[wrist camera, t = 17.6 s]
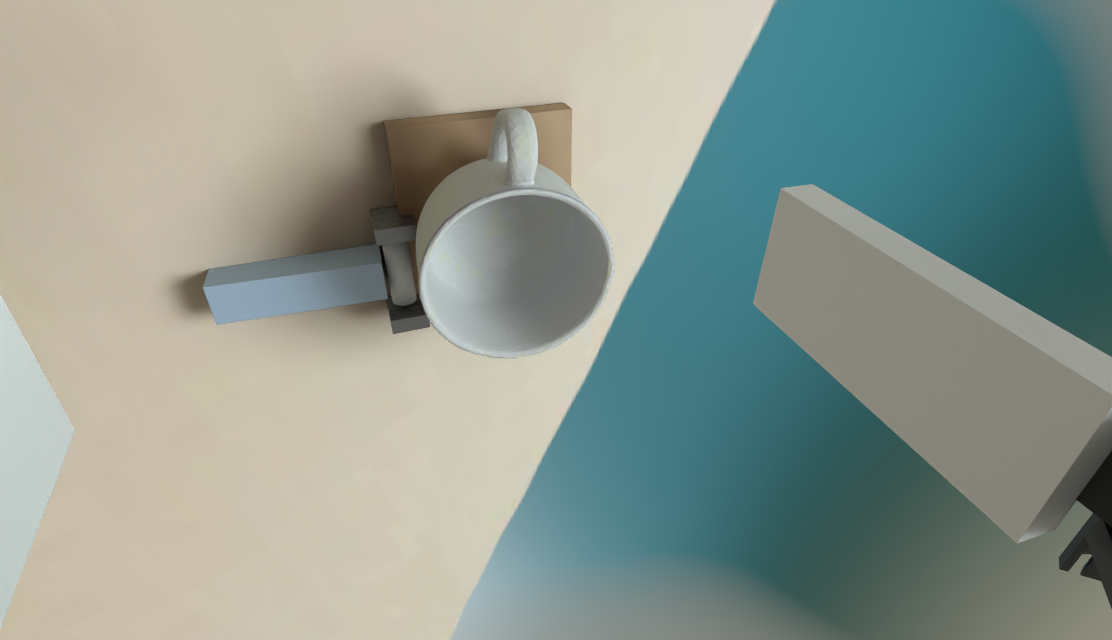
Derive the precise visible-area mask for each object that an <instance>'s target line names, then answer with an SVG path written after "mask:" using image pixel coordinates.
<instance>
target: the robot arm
mask: <svg viewBox="0 0 1112 640" xmlns="http://www.w3.org/2000/svg"><path fill="white" fill-rule="evenodd" d="M753 304H754V305H755V306H756V307H757V308H758V309H759V310H760V311H761V312H763V313H764V314H765V315H766V316H767V317H768V318H769V319H770V320H772V321H773V322H774V323H775V324H776V325H777V326H778V327H779V328H780V329H781V330H783V331H784V332H785V333H786V334H787V335H788V336H789V337H790V338H791V339H792V340H794V341H795V342H796V343H797V344H798V345H799V346H800V347H801V348H802V349H803V350H804V351H806V352H807V353H808V354H809V355H810V356H811V357H812V358H814V359H815V360H816V361H817V362H818V363H819V364H820V365H821V366H822V367H823V368H825V370H827V371H828V372H829V373H830V374H831V375H832V376H833V377H834V378H835V379H837V380H838V381H839V382H840V383H841V384H842V385H843V386H844V387H845V388H847V389H848V390H849V391H850V392H851V393H852V394H853V395H854V396H855V397H856V398H858V399H859V400H860V401H861V402H862V403H863V404H864V405H865V406H866V407H867V408H869V409H870V410H871V411H872V412H873V413H874V414H875V415H876V416H877V417H878V418H880V419H881V420H882V421H883V422H884V423H885V424H886V425H887V426H888V427H890V428H891V429H892V430H893V431H894V432H895V433H896V434H897V435H898V436H900V437H901V438H902V439H903V440H904V441H905V442H906V443H907V444H908V445H909V446H911V447H912V448H913V449H914V450H915V451H916V452H917V453H918V454H919V455H920V456H921V457H923V458H924V459H925V460H926V461H927V462H928V463H929V464H930V465H932V466H933V467H934V468H935V469H936V470H937V471H938V472H939V473H940V474H941V475H942V476H944V477H945V478H946V479H947V480H948V481H949V482H950V483H951V484H953V485H954V486H955V487H956V488H957V489H958V490H959V491H960V492H961V493H963V494H964V495H965V496H966V497H967V498H968V499H969V500H970V501H972V503H973V504H975V505H976V506H977V507H978V508H979V509H980V510H981V511H982V512H983V513H984V514H986V515H987V516H988V517H989V518H990V519H991V520H992V521H993V522H994V523H996V524H997V525H998V526H999V527H1000V528H1001V529H1002V530H1003V531H1004V532H1005V533H1007V534H1008V535H1009V536H1010V537H1011V538H1012V539H1013V540H1014V541H1016V543H1019V542H1022V541H1025V540H1028V539H1030V538H1033V537H1036V536H1038V535H1041V534H1044V533H1047V532H1049V531H1052V530H1055V529H1056V528H1057V526H1058V525H1059V524H1060V522H1061V521H1062V520H1063V518H1064V517H1065V515H1066V514H1067V513H1068V511H1069V510H1070V509H1071V507H1072V506H1073V505H1074V503H1075V502H1076V501H1077V500H1078V501H1079V502H1080V503H1082V504H1083V505H1084V506H1085V507H1086V508H1088V509H1089V510H1090V511H1092V512H1093V514H1092V515H1091V517H1090V518H1089V519H1088V520H1087V522H1086V523H1085V524H1084V525H1083V527H1082V528H1081V529H1080V531H1079V532H1078V533H1077V535H1076V536H1075V537H1074V538H1073V540H1072V541H1071V542H1070V544H1069V545H1068V546H1067V548H1066V549H1065V550H1064V552H1063V553H1062V554H1061V555H1060V557H1059V569H1061V570H1065V571H1069V569H1071V567H1072V566H1073V565H1074V563H1075V562H1076V561H1077V560H1078V559H1079V557H1080V556H1081V555H1082V554H1091V555H1092V557H1091V558H1090V559H1089V561H1088V562H1087V563H1086V564H1085V565H1084V567H1083V569H1082V571H1081V573H1080V574H1081V575H1082V576H1085V577H1089V578H1092V579H1096V580H1100V581H1102V584H1103V587H1104V589H1105V592H1106V595H1107V597H1108V600H1109V603H1110V605H1111V608H1112V357H1110V356H1108V355H1106V354H1105V353H1103V352H1101V351H1100V350H1098V349H1096V348H1094V347H1092V346H1091V345H1089V344H1087V343H1086V342H1084V341H1082V340H1080V339H1079V338H1077V337H1075V336H1074V335H1072V334H1070V333H1068V332H1067V331H1065V330H1063V329H1061V328H1060V327H1058V326H1056V325H1054V324H1053V323H1051V322H1049V321H1047V320H1046V319H1044V318H1043V317H1041V316H1039V315H1037V314H1036V313H1034V312H1032V311H1030V310H1029V309H1027V308H1025V307H1024V306H1022V305H1020V304H1018V303H1017V302H1015V301H1013V300H1011V299H1010V298H1008V297H1006V296H1004V295H1003V294H1001V293H999V292H998V291H996V290H994V289H992V288H991V287H989V286H987V285H985V284H984V283H982V282H980V281H979V280H977V279H975V278H973V277H972V276H970V275H968V274H966V273H965V272H963V271H961V270H960V269H958V268H956V267H954V266H952V265H951V264H949V263H947V262H946V261H944V260H942V259H941V258H939V257H937V256H935V255H934V254H932V253H930V252H928V251H927V250H925V249H923V248H921V247H920V246H918V245H916V244H915V243H913V242H911V241H909V240H908V239H906V238H904V237H903V236H901V235H899V234H897V233H896V232H894V231H892V230H890V229H889V228H887V227H885V226H883V225H882V224H880V223H878V222H877V221H875V220H873V219H871V218H870V217H868V216H866V215H864V214H863V213H861V212H859V211H858V210H856V209H854V208H852V207H850V206H849V205H847V204H845V203H844V202H842V201H840V200H839V199H836V198H835V197H833V196H831V195H830V194H828V193H826V192H825V191H823V190H821V189H819V188H818V187H816V186H814V185H804V186H797V187H788V188H781V190H780V194H779V198H778V203H777V207H776V211H775V215H774V219H773V224H772V227H771V231H770V236H769V240H768V244H767V248H766V252H765V256H764V260H763V265H762V269H761V273H760V277H759V281H758V286H757V290H756V294H755V298H754V302H753ZM74 432H75V429H74V428H73V426H72V424H71V422H70V420H69V418H68V417H67V415H66V413H65V411H64V409H63V408H62V406H61V404H60V402H59V400H58V398H57V397H56V395H55V393H54V391H53V389H52V388H51V386H50V384H49V382H48V380H47V378H46V377H45V375H44V373H43V371H42V369H41V368H40V366H39V364H38V362H37V360H36V358H35V357H34V355H33V353H32V351H31V349H30V348H29V346H28V344H27V342H26V340H25V338H24V337H23V335H22V333H21V331H20V329H19V328H18V326H17V324H16V322H15V320H14V318H13V317H12V315H11V313H10V311H9V309H8V308H7V306H6V304H5V302H4V300H3V298H2V297H1V295H0V628H1V625H2V623H3V620H4V617H5V615H6V612H7V609H8V607H9V604H10V601H11V599H12V596H13V593H14V591H15V588H16V585H17V583H18V580H19V577H20V575H21V572H22V569H23V567H24V564H25V562H26V559H27V556H28V554H29V551H30V548H31V546H32V543H33V540H34V538H35V535H36V532H37V530H38V527H39V524H40V522H41V519H42V516H43V514H44V511H45V509H46V506H47V503H48V501H49V498H50V495H51V493H52V490H53V487H54V485H55V482H56V479H57V477H58V474H59V471H60V469H61V466H62V463H63V461H64V458H65V455H66V453H67V450H68V448H69V445H70V442H71V440H72V437H73V434H74Z"/></svg>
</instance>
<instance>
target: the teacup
mask: <svg viewBox="0 0 1112 640" xmlns="http://www.w3.org/2000/svg"><path fill="white" fill-rule="evenodd" d="M537 161H538V141H537V132H536V128H535V124H534V120H533V118H532V117H531V115H530V113H529V112H528V111H526V110H525V109H522V108H507V109H503V110H501V111H500V112H499V113H497V115H496V117H495V120H494V124H493V128H492V135H491V142H490V148H489V150H488V154H487V158H486V159H481V160H478V161H475V162H472V163H470V164H467V165H465V166H463V167H461V168H459V169H457V170H456V171H454V172H453V173H451V174H450V175H448V176H447V177H446V178H445V179H444V180H443V181H442V182H441V183H440V184H439V185H438V186H437V187H436V188H435V189H434V191H433V192H432V194H431V195H430V196H429V198H428V199H427V201H426V203H425V205H424V207H423V210H422V212H421V215H420V217H419V221H418V225H417V232H416V259H417V268H418V275H419V279H418V287H419V296H420V300H421V303H422V306H423V309H424V311H425V314H426V316H427V318H428V319H429V321H430V322H431V324H432V325H433V327H434V328H435V329H436V330H437V331H438V332H439V333H440V334H441V335H442V336H443V337H444V338H445V339H446V340H448V341H449V342H451V343H452V344H454V345H455V346H457V347H459V348H460V349H463V350H465V351H468V352H471V353H474V354H477V355H482V356H487V357H492V358H518V357H524V356H530V355H534V354H538V353H541V352H544V351H546V350H548V349H551V348H554V347H556V346H558V345H560V344H561V343H563V342H565V341H566V340H568V339H569V338H571V337H572V336H574V335H575V334H576V333H578V332H579V331H580V330H581V329H582V328H583V327H584V326H585V325H586V324H587V323H588V322H589V321H590V320H591V319H592V318H593V316H594V315H595V314H596V312H597V311H598V309H599V308H600V307H601V305H602V303H603V301H604V299H605V298H606V295H607V293H608V291H609V287H610V284H611V280H612V276H613V272H614V271H613V266H614V262H613V252H612V247H611V241H610V238H609V236H608V233H607V231H606V229H605V228H604V226H603V225H602V223H601V222H600V220H599V219H598V218H597V216H596V215H595V214H594V213H593V212H592V211H591V210H590V209H589V208H588V207H587V206H586V205H585V204H584V203H583V201H582V200H581V199H580V197H579V196H578V195H577V194H576V192H575V191H574V190H573V189H572V188H571V187H570V186H569V185H568V184H567V183H566V182H565V181H564V180H563V179H562V178H561V177H560V176H558V175H557V174H556V173H555V172H553V171H552V170H550V169H548V168H547V167H545V166H543V165H541V164H539V163H537Z"/></svg>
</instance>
